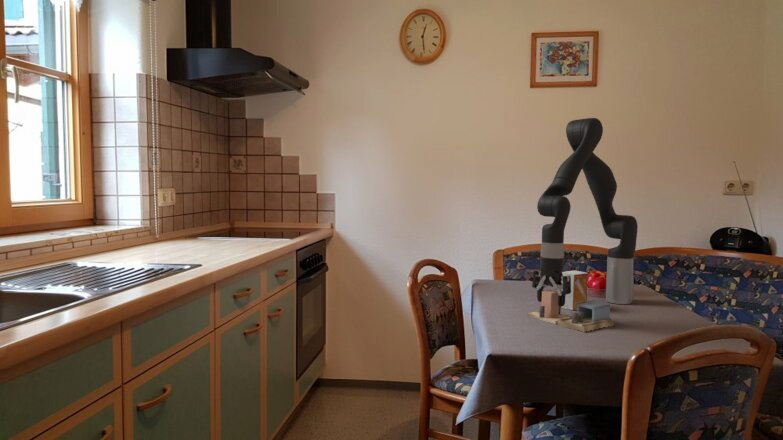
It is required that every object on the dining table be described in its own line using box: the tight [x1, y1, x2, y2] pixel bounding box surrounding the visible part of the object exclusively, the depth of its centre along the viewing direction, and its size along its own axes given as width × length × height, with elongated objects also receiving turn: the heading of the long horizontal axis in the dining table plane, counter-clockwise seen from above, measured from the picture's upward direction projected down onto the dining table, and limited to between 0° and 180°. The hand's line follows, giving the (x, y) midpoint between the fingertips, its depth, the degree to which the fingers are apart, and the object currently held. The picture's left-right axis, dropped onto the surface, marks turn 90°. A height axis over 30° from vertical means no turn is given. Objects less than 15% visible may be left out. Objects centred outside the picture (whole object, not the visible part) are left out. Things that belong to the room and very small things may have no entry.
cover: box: [576, 300, 611, 322], centre depth 180 cm, size 8×7×5 cm
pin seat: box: [526, 305, 571, 325], centre depth 186 cm, size 10×12×4 cm
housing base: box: [557, 311, 615, 333], centre depth 178 cm, size 15×10×4 cm, turn 124°
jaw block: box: [540, 289, 559, 317], centre depth 186 cm, size 4×4×8 cm
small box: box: [561, 270, 589, 311], centre depth 202 cm, size 8×6×13 cm
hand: (550, 303), depth 186 cm, fingers open, 8 cm apart
